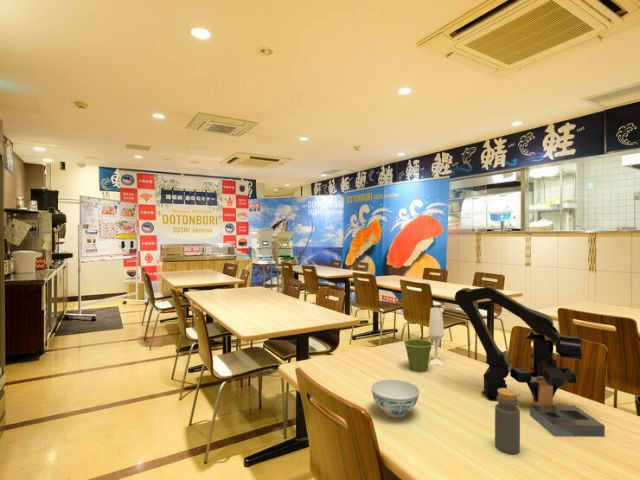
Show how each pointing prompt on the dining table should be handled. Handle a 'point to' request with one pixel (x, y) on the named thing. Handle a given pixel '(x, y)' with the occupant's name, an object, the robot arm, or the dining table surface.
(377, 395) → the chinaware
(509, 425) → the bottle
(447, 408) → the dining table surface
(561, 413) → the socket plate
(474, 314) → the robot arm
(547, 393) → the peg
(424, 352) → the plant pot
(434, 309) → the champagne flute
